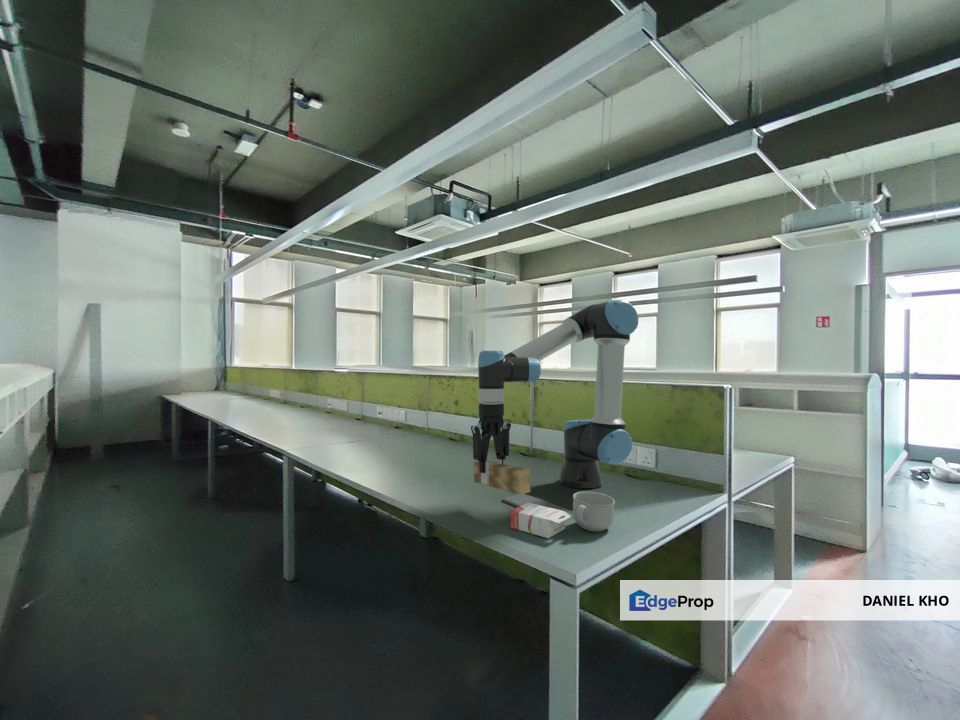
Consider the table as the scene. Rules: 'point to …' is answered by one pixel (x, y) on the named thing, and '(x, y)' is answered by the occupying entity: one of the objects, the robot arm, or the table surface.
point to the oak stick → (505, 477)
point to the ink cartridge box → (538, 519)
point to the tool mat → (524, 498)
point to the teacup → (593, 510)
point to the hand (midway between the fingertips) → (491, 482)
